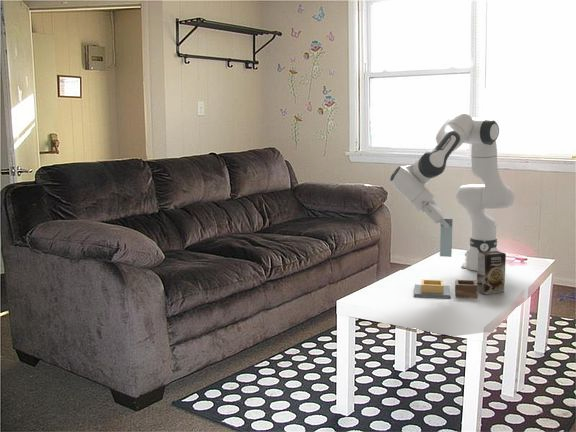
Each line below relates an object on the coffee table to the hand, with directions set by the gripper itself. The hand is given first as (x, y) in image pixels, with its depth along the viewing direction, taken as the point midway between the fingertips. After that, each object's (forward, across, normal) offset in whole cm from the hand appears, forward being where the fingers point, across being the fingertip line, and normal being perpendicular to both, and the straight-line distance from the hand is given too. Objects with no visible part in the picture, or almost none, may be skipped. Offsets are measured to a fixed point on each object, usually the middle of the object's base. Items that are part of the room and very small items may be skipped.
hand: (447, 225), depth 250 cm
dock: (+16, +1, +23) cm, 28 cm away
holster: (+25, 0, +14) cm, 29 cm away
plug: (+8, 0, +9) cm, 12 cm away
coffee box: (+32, +6, +7) cm, 33 cm away
